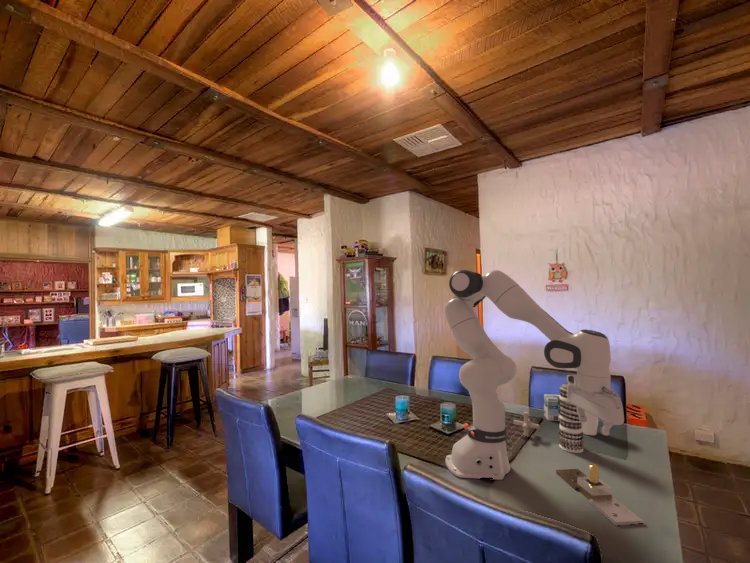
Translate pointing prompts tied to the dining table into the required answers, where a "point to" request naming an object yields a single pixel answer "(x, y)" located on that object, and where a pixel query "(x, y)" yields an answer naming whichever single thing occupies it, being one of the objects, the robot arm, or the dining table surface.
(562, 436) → the decorative candle
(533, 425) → the pipe connector
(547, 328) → the robot arm
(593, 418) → the foam cup
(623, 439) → the dining table surface
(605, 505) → the hinge
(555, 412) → the light bulb box
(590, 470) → the brass pin
